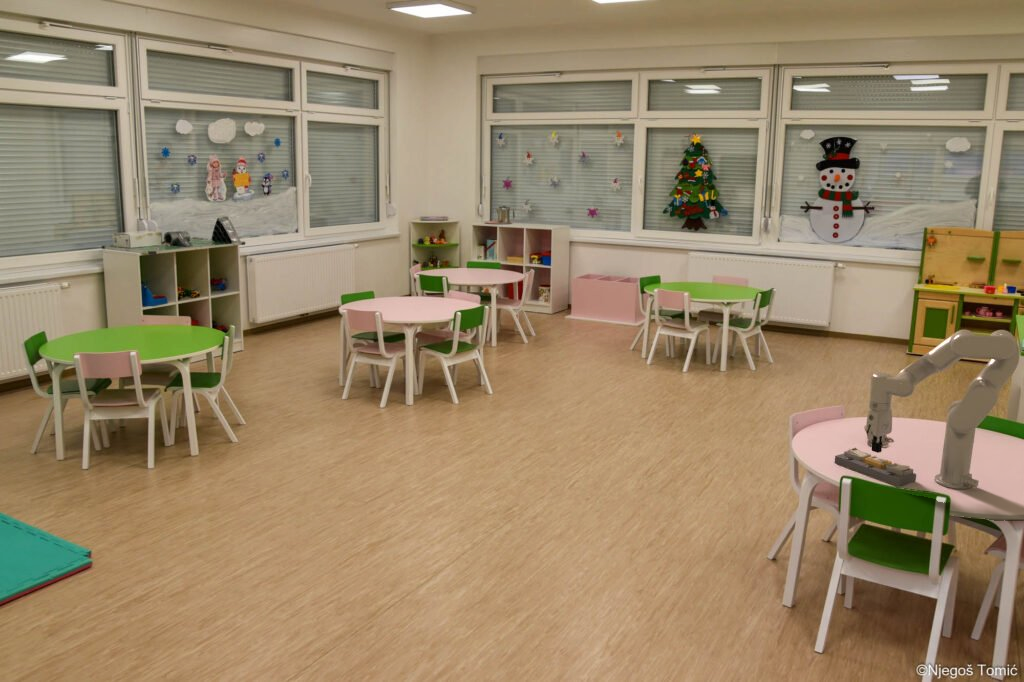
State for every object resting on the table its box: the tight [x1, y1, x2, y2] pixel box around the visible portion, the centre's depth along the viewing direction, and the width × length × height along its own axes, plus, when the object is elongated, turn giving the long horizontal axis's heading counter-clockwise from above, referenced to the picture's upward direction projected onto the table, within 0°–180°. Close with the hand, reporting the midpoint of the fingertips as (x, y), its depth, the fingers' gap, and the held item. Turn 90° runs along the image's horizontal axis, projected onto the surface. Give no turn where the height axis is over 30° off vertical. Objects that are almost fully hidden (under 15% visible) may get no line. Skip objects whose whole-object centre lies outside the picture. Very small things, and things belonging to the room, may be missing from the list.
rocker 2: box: [890, 464, 911, 471], centre depth 314 cm, size 6×4×1 cm
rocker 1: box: [848, 447, 867, 456], centre depth 329 cm, size 6×4×1 cm
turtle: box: [864, 425, 895, 447], centre depth 354 cm, size 16×10×10 cm, turn 156°
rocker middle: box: [868, 455, 889, 464], centre depth 321 cm, size 6×4×1 cm
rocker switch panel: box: [834, 449, 917, 488], centre depth 321 cm, size 28×10×4 cm, turn 32°
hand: (876, 451), depth 322 cm, fingers closed
